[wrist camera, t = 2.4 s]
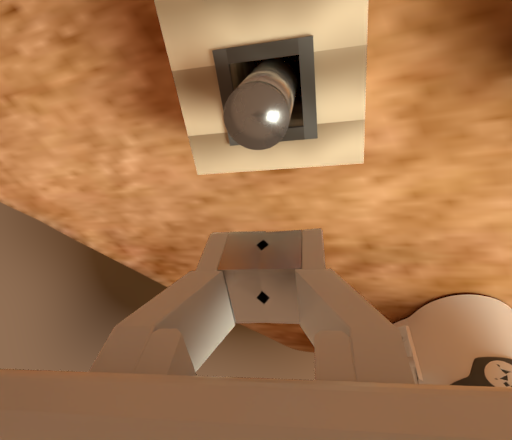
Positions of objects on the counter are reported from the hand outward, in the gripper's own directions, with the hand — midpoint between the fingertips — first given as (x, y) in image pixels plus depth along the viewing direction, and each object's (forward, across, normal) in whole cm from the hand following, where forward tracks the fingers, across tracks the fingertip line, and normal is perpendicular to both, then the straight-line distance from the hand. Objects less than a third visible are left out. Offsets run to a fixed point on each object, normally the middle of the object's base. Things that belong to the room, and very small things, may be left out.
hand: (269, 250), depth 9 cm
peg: (+23, +2, 0) cm, 23 cm away
